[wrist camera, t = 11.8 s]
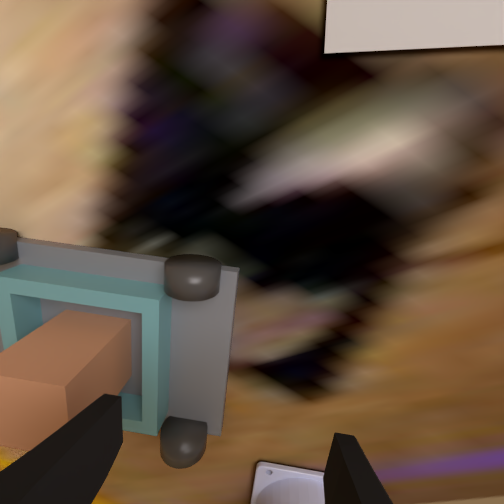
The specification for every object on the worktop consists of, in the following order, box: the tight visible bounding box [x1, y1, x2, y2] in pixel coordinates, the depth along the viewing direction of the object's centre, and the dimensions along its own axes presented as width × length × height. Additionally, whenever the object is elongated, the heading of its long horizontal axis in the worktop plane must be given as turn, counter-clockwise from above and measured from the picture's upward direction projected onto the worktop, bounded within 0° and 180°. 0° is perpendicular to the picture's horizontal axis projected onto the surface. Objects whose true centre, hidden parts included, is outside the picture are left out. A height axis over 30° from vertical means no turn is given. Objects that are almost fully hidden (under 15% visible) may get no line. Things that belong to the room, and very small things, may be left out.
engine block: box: [0, 309, 132, 451], centre depth 17 cm, size 4×4×6 cm
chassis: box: [0, 228, 239, 469], centre depth 19 cm, size 18×14×3 cm
